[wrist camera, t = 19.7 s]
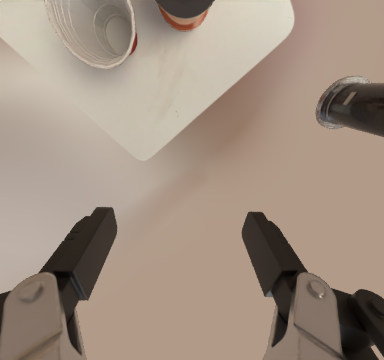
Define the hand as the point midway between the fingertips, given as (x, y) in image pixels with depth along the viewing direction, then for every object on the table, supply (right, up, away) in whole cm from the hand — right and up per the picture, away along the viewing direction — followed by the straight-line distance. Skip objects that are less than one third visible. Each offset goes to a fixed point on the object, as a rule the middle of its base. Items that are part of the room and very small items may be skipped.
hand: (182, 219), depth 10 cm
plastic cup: (-13, +29, +21) cm, 38 cm away
